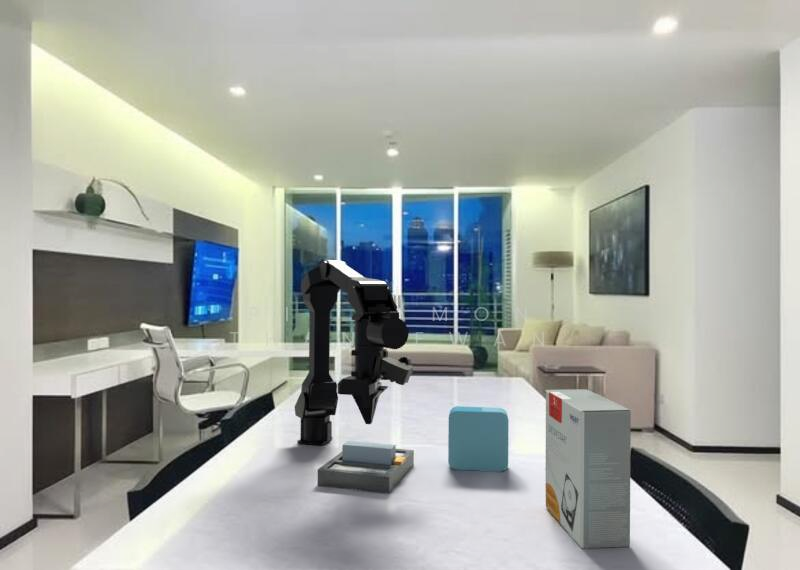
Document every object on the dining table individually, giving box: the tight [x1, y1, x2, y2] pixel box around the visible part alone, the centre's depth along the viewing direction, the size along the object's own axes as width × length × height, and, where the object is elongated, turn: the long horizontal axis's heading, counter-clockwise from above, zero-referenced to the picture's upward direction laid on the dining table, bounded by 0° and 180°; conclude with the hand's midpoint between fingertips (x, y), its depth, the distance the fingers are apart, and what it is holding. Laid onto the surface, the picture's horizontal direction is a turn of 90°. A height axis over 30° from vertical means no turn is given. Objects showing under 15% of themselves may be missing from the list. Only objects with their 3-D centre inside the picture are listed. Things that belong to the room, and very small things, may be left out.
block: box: [341, 440, 397, 465], centre depth 112 cm, size 10×3×6 cm, turn 74°
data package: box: [447, 405, 509, 473], centre depth 117 cm, size 12×4×12 cm, turn 82°
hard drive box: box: [545, 388, 632, 549], centre depth 89 cm, size 16×8×20 cm, turn 5°
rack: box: [317, 448, 415, 495], centre depth 112 cm, size 14×17×4 cm
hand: (368, 423), depth 112 cm, fingers closed
